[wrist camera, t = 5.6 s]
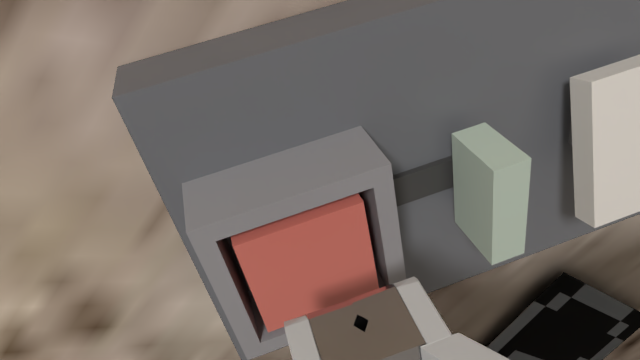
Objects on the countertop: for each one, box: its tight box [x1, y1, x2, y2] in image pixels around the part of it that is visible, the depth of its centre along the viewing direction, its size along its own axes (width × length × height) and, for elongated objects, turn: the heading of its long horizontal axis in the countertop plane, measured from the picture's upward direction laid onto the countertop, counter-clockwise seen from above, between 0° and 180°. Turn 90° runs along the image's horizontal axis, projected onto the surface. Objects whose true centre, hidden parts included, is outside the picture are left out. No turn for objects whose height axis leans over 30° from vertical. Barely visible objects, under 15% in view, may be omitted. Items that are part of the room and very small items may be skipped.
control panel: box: [112, 0, 640, 360], centre depth 15 cm, size 22×10×4 cm, turn 101°
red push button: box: [231, 193, 379, 332], centre depth 13 cm, size 3×3×2 cm
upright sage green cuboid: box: [451, 122, 532, 265], centre depth 13 cm, size 1×3×2 cm, turn 11°
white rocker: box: [570, 55, 640, 228], centre depth 14 cm, size 3×4×1 cm, turn 11°
